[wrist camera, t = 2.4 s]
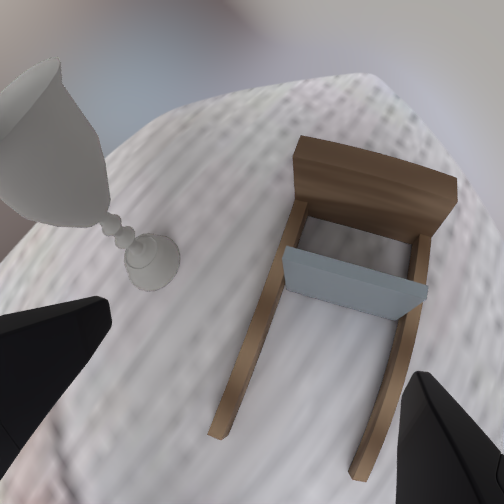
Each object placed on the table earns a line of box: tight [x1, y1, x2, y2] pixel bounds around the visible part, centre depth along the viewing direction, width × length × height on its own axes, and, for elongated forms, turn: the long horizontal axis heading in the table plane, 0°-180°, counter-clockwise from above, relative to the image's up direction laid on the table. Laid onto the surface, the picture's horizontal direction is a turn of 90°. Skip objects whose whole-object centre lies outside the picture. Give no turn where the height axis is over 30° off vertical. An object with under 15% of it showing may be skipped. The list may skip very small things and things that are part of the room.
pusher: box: [282, 246, 428, 321], centre depth 18 cm, size 1×8×6 cm, turn 70°
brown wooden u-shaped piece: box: [207, 135, 458, 482], centre depth 18 cm, size 20×11×7 cm, turn 160°
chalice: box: [0, 58, 180, 291], centre depth 17 cm, size 7×7×18 cm
